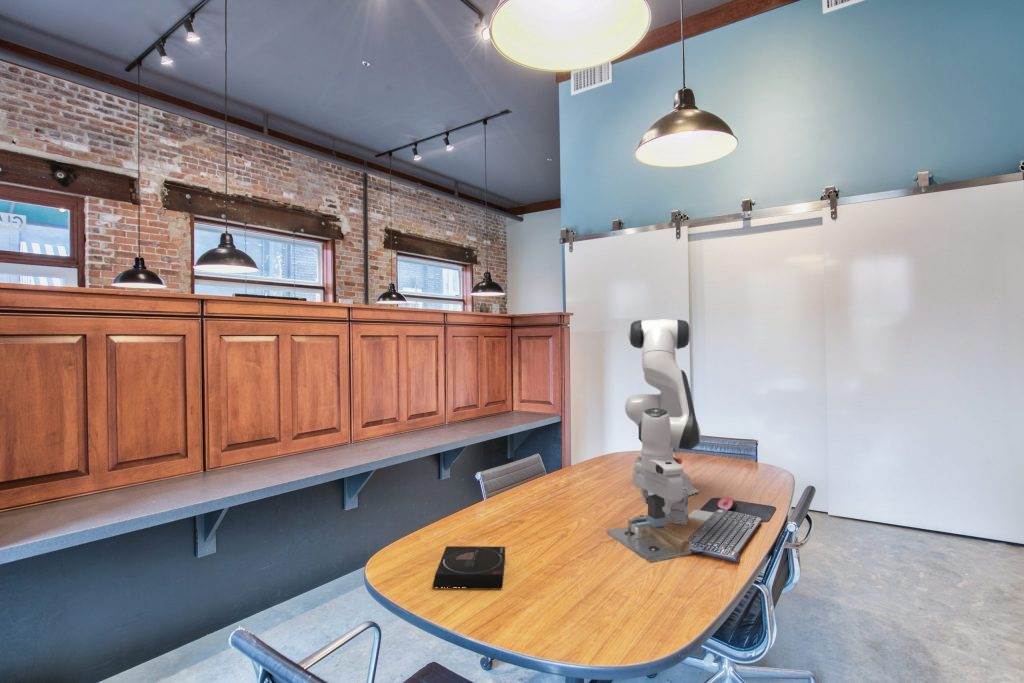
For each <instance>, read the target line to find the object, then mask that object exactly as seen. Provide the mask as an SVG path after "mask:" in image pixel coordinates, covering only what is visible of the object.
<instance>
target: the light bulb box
mask: <svg viewBox="0 0 1024 683" xmlns="http://www.w3.org/2000/svg"><path fill="white" fill-rule="evenodd" d="M653 495H655V494H653ZM688 497H689V496H688V489H687V488H683V498H682V500H681V501H678V502H673V504H672V506H671V507H670V513H668V514H666V513H665V517H667V522H668V523H667V524H673V523H674V524H675V525H680V524H681V526H687V524H688V521H689V505H688V504H689V503H688V502H689V501H688V500H689V498H688ZM665 503H666V502H665Z"/></svg>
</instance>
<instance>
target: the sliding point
mask: <svg viewBox="0 0 1024 683" xmlns="http://www.w3.org/2000/svg"><path fill="white" fill-rule="evenodd" d="M662 506H665V502H664V498H662V497H660V496H658V495H650V496H648V504H647V515H645V516H646V522H641V523H636V527H635V538H639V528H643V527H649V526H652V527H654V528H655V527H661V526H664V527H666V526H668V523H667V517H665V513H664V512H663V511H662V510H663V509H662Z"/></svg>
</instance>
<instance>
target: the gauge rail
mask: <svg viewBox="0 0 1024 683" xmlns="http://www.w3.org/2000/svg"><path fill="white" fill-rule="evenodd" d="M641 522H646V515H644V514H641V515H635V516H634V517H632V518H628V519H627V527H628V533H629V534H631V526H633V525H634V526H636V523H641ZM640 529H642V530H644V531H645V532H647V533H649V534H650V535H652V536H654V537H655V538H657V539H659V540H660V541H662V542H664V543H665V544H667V545H669V546H671V547H672V548H674V549H676V550H677V551H679V552H681V553H683V552H688V551H690V542H691V541H690V540H689V539H688V538H686V537H684V536H682V535H681V534H679V533H677V532H675V531H673V530H672V529H669V528H668V527H666V526H661V527H655V528H654V527H652V526H649V527H643V528H640Z"/></svg>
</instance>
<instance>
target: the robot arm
mask: <svg viewBox="0 0 1024 683" xmlns="http://www.w3.org/2000/svg"><path fill="white" fill-rule="evenodd" d="M627 336H628V340H629V343H630V345H631V346H632V347H633V348H635V349H636V348H637V349H642V352H641V365H642V371H643V373H644V374H643V378H644V381H645V382H646V383H647V384H648V385H649V386H651V387H653V388H655V389H657V390H659V391H660V393H658V394H656V393H655V394H652V393H651V394H650V393H649V394H647V393H643V394H642V393H641V394H634V395H630V396H629V397H628V398H627V399H626V400H625V404H624V411H625V414H626V416H627V417H628V418H629V419H630V420H631V421H632V422H633V423H634V424H636V425H637V428H638V440H639V441H640V442H641V445H642V446H641V449H640V450H641V453H640V454H641V455H640V456H638V457H637V458H636V459H635V462H634V463H635V464H634V465H633V471H632V483H633V485H634V486H636V487H638V488H640V490H639V491H640V494H641V496H642V501H643V502H642V503H643V504H646V505H648V496H650V495H653V494H655V495H658V496H660V497H662V498H664V502H666V503H665V506H662V509H663V510H662V511H663V512H664V513H666V514H668V513H670V507H671V506H672V504H673V502H678V501H681V500H682V498H683V488H687V489H688V497H689V495H690V496H693V495H692V494H694V495H696V494H695V493H698V494H699V490H698V489H697V488H696V487H694V486H693V483H692V480H691V477H690V476H689V475H688V474H687V473H686V472H685V471H684V468H683V466H682V465H681V464H683V459H682V458H679V457H677V458H676V457H674V448H675V449H682V450H687V451H690V450H693V449H694V448H696V447H697V446H698V445H699V444H700V441H701V437H702V435H701V434H702V433H701V428H700V425H699V423H698V421H697V417H696V412H695V411H696V410H695V407H694V403H693V401H694V400H693V397H692V392H691V388H690V384H689V380H688V377H687V374H686V372H685V370H682V369H681V368H680V367H679V366H678V364H677V360H676V349H677V350H680V349H683V348H686V347H687V346H689V342H690V341H691V338H692V331H691V327H690V325H689V323H688V321H686V320H683V319H670V318H666V319H665V318H659V319H646V320H641V319H639V320H638V319H637V320H634V321H633V322H632V323H631V324H630V326H629V328H628V332H627Z"/></svg>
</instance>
